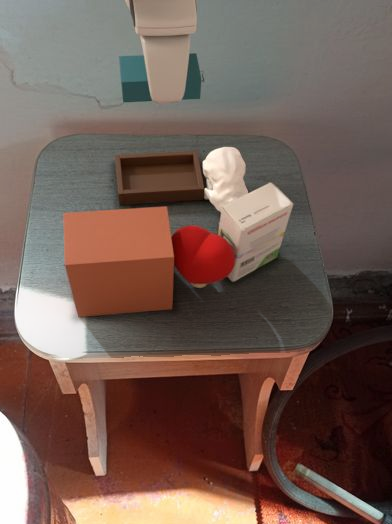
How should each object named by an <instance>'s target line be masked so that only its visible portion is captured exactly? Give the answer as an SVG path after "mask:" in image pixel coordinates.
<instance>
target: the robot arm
mask: <svg viewBox="0 0 392 524" xmlns="http://www.w3.org/2000/svg"><path fill="white" fill-rule="evenodd" d="M124 1H125V4H126V6H127V8H128V10H129V13H130V16H131V20H132V24H133V27H134V30H135V34H136V35H137V36H139V39H140V42H141V47H142V53H143V55H144V60H145V66H146V72H147V79H148V85H149V90H150V95H151V99H152V101H151V102H153V103H155V104H156V105H167V104H169V103H170V104H172V103H179V102H181V101H183V100H182V98H183V96H184V92H185V86H186V78H187V69H188V60H189V54H190V50H191V49H190V48H191V35H192V34H195V33H196V32H197V26H198V25H197V24H198V9H197V0H124Z"/></svg>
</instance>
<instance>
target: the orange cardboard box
mask: <svg viewBox="0 0 392 524" xmlns="http://www.w3.org/2000/svg"><path fill="white" fill-rule="evenodd" d="M168 210H169V209H168V206H151V207H137V208H135V207H134V208H122V209H121V208H120V209H105V210H103V209H102V210H89V211H74V212H73V211H72V212H63V213H62V219H63V220H62V221H63V222H62V223H63V250H64V251H63V252H64V253H63V255H64V269H65V271H66V275H67V279H68V284H69V286H70V287H69V288H70V292H71V295H72V298H73V299H72V300H73V303H74V306H75V310H76V314H77V317H78V318H81V317H92V316H105V315H118V314H129V313H130V314H131V313H140V312H141V313H142V312H153V311H164V310H167V311H168V310H173V305H174V303H173V301H174V276H175V275H174V273H175V272H174V271H175V266H174V253H173V246H172V238H171V237H172V233H171V232H172V231H171V226H170V225H171V223H170V218H169V211H168Z"/></svg>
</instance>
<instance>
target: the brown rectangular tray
mask: <svg viewBox="0 0 392 524" xmlns="http://www.w3.org/2000/svg"><path fill="white" fill-rule="evenodd" d="M114 161H115V163H114V164H115V172H116V173H115V174H116V185H117V194H118V205H119V206H124V205H139V204H155V203H157V204H158V203H173V202H187V201H188V202H189V201H202V200H204V199H205V198H204V193H205V192H204V190H205V185H204V184H205V183H204V180H203V172H202V168H201V163H200V158H199V151H198V150H187V151H186V150H184V151H183V150H182V151H168V152H166V151H165V152H147V153H129V154H115V155H114Z"/></svg>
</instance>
